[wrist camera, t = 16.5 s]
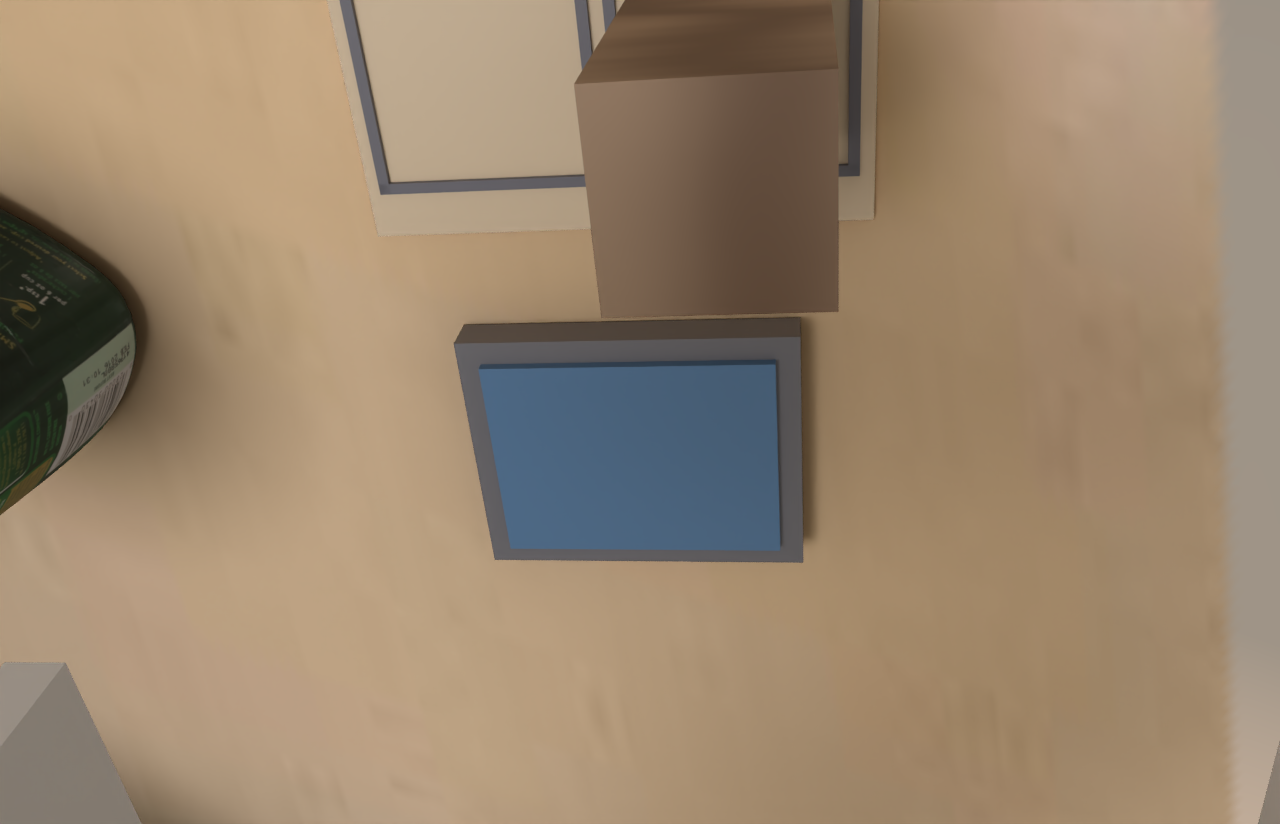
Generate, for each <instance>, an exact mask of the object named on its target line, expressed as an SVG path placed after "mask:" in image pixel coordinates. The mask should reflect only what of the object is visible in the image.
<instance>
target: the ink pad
mask: <svg viewBox="0 0 1280 824" xmlns="http://www.w3.org/2000/svg"><path fill="white" fill-rule="evenodd" d="M454 347H455V353H456V358H457V363H458V368H459V374H460V379H461V384H462V390H463V395H464V400H465V405H466V411H467V416H468V421H469V426H470V432H471V437H472V442H473V447H474V453H475V458H476V463H477V468H478V474H479V479H480V484H481V489H482V495H483V500H484V505H485V510H486V516H487V521H488V526H489V531H490V537H491V542H492V547H493V552H494V558H495V560H583V561H691V562H799V563H803V488H802V410H801V331H800V318H758V319H713V320H667V321H621V322H575V323H529V324H483V325H464V326H463V328H462V330H461V331H460V333H459V335H458V337H457V339H456V341H455V342H454Z"/></svg>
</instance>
